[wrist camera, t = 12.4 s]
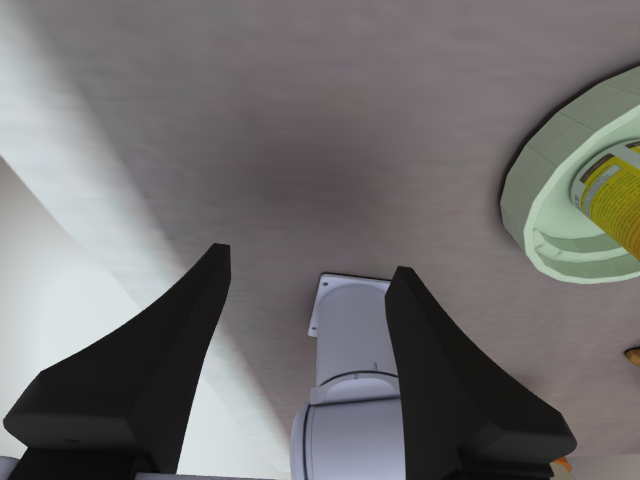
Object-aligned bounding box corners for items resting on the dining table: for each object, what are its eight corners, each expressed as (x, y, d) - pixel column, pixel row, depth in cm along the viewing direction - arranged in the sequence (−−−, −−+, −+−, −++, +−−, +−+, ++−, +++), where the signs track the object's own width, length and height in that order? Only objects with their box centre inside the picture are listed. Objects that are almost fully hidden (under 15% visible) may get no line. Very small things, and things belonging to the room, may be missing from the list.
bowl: (617, 258, 26) (656, 293, 23) (463, 236, 25) (483, 271, 22) (806, 79, 18) (910, 98, 15) (585, 31, 16) (646, 41, 13)
